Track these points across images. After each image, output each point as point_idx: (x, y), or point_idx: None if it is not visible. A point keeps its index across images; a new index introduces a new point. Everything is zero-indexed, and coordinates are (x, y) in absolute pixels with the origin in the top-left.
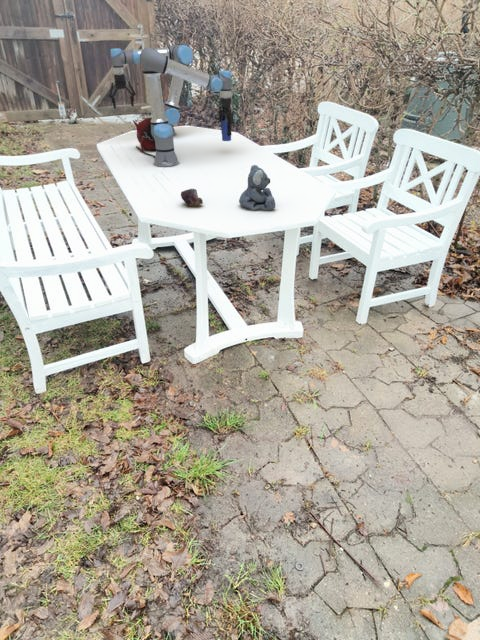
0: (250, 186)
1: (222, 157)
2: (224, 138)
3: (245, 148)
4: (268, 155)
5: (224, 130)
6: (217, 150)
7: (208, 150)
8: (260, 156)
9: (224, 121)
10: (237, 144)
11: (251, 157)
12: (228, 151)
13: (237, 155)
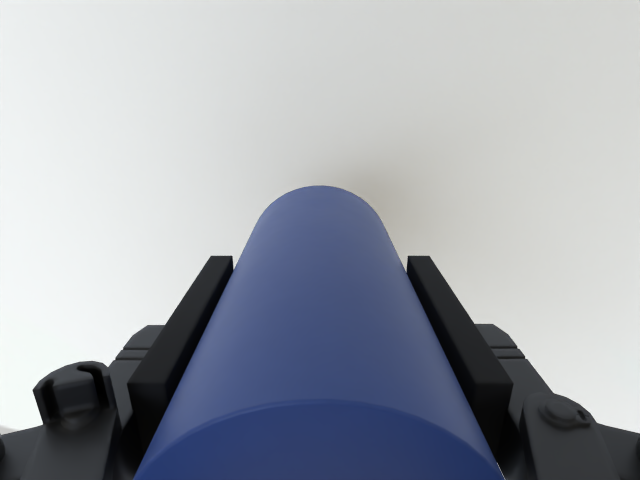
0: None
1: (199, 53)
2: (284, 203)
3: None
4: (37, 424)
5: (263, 255)
6: (479, 192)
7: (559, 112)
8: (38, 364)
9: (237, 445)
10: None
11: (44, 289)
12: None
13: (180, 233)
